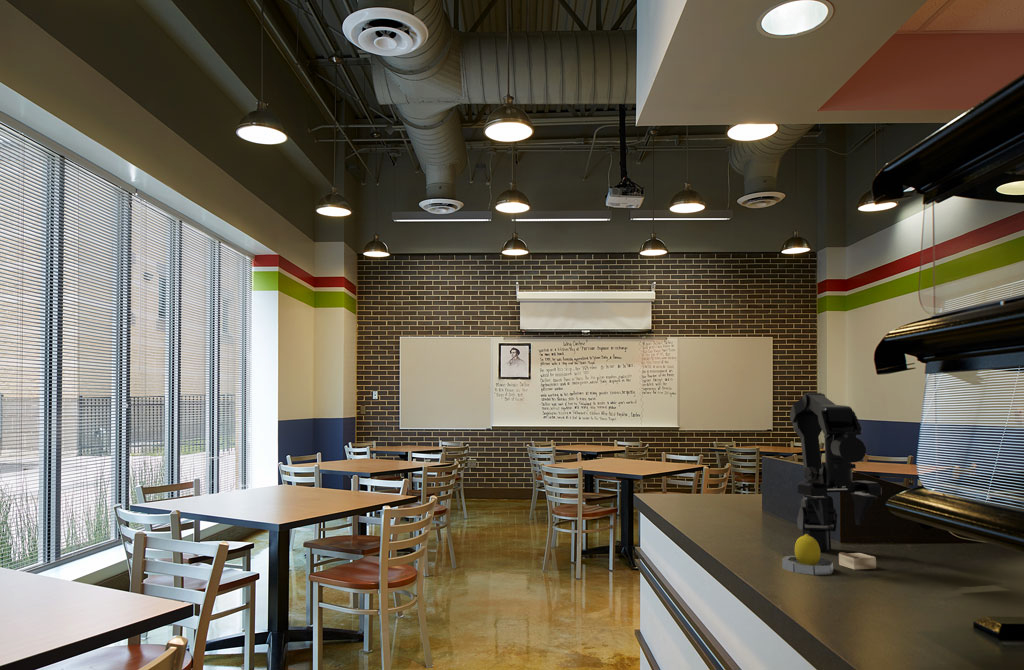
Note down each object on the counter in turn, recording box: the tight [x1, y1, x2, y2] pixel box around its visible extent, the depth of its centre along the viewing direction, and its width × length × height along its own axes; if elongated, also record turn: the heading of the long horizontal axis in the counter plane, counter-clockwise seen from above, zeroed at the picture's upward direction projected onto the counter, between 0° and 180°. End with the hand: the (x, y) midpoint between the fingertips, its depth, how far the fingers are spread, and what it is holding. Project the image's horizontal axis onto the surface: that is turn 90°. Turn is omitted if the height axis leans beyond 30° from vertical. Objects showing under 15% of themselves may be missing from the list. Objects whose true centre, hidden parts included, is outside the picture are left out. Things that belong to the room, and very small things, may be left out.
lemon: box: [794, 534, 821, 565], centre depth 157 cm, size 6×6×8 cm
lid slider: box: [838, 551, 877, 571], centre depth 160 cm, size 6×5×3 cm
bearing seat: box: [781, 555, 834, 576], centre depth 157 cm, size 10×10×2 cm
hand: (840, 525), depth 160 cm, fingers open, 9 cm apart
